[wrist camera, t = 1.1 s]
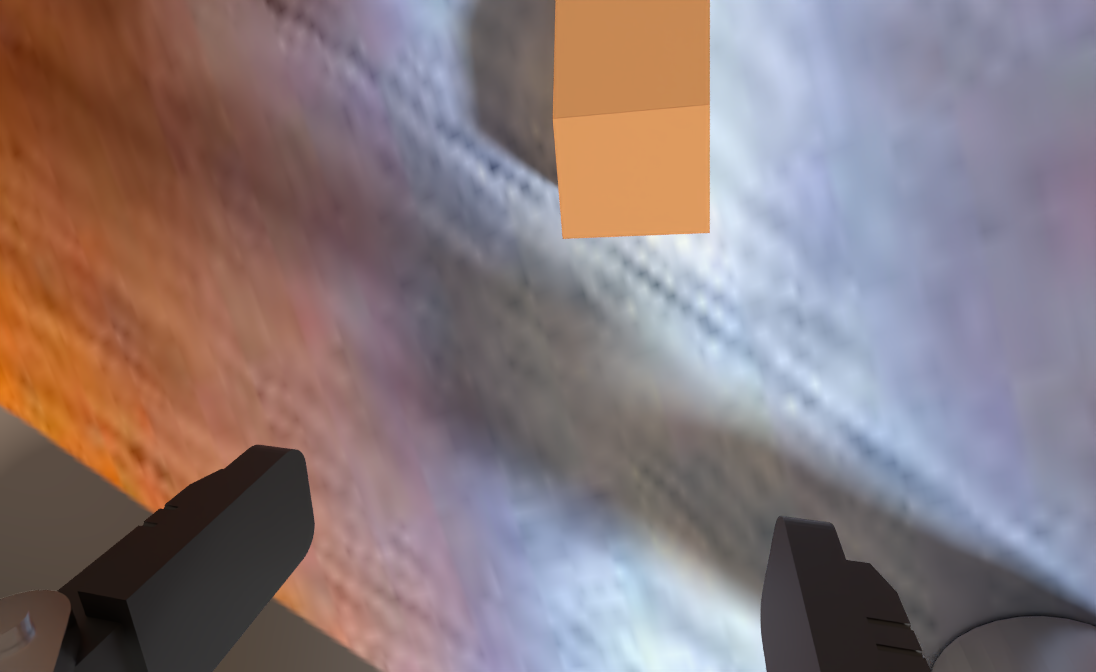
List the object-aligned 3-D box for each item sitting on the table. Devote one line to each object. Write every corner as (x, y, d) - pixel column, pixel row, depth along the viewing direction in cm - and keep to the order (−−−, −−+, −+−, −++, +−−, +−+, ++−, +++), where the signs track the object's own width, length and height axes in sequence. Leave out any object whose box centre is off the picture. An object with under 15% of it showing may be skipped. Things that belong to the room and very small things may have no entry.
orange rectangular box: (572, -85, 23) (531, -137, 18) (709, -108, 22) (709, -172, 17) (591, 208, 27) (562, 238, 22) (709, 202, 26) (709, 232, 20)
